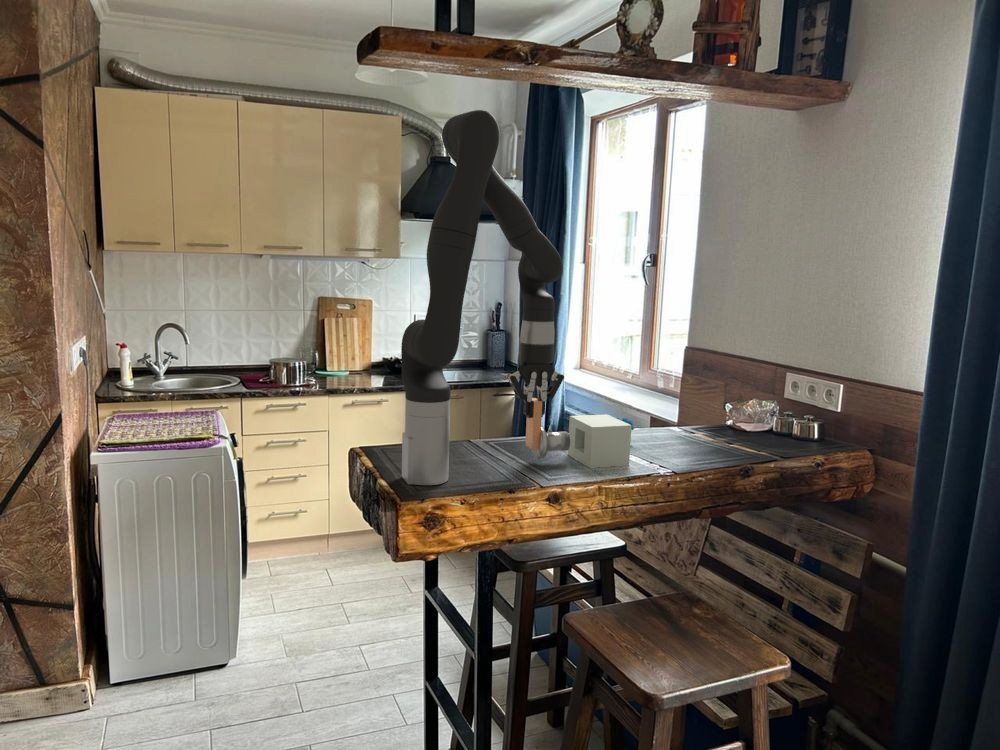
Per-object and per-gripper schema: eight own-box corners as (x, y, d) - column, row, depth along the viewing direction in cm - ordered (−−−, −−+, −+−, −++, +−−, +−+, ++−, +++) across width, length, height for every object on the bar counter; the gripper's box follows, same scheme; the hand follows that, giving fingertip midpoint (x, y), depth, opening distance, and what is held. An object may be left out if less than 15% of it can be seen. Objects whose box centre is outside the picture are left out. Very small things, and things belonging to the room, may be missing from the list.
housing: (590, 468, 168) (592, 427, 166) (567, 454, 179) (569, 415, 177) (629, 465, 171) (631, 425, 169) (604, 452, 182) (607, 414, 181)
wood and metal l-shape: (534, 463, 165) (537, 403, 163) (522, 454, 172) (524, 396, 170) (572, 461, 168) (575, 401, 166) (558, 452, 175) (561, 395, 173)
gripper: (514, 343, 159) (511, 422, 162) (572, 342, 164) (568, 419, 166) (502, 339, 166) (499, 414, 169) (558, 338, 171) (555, 412, 173)
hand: (534, 416), depth 167 cm, fingers closed on wood and metal l-shape, 2 cm apart
